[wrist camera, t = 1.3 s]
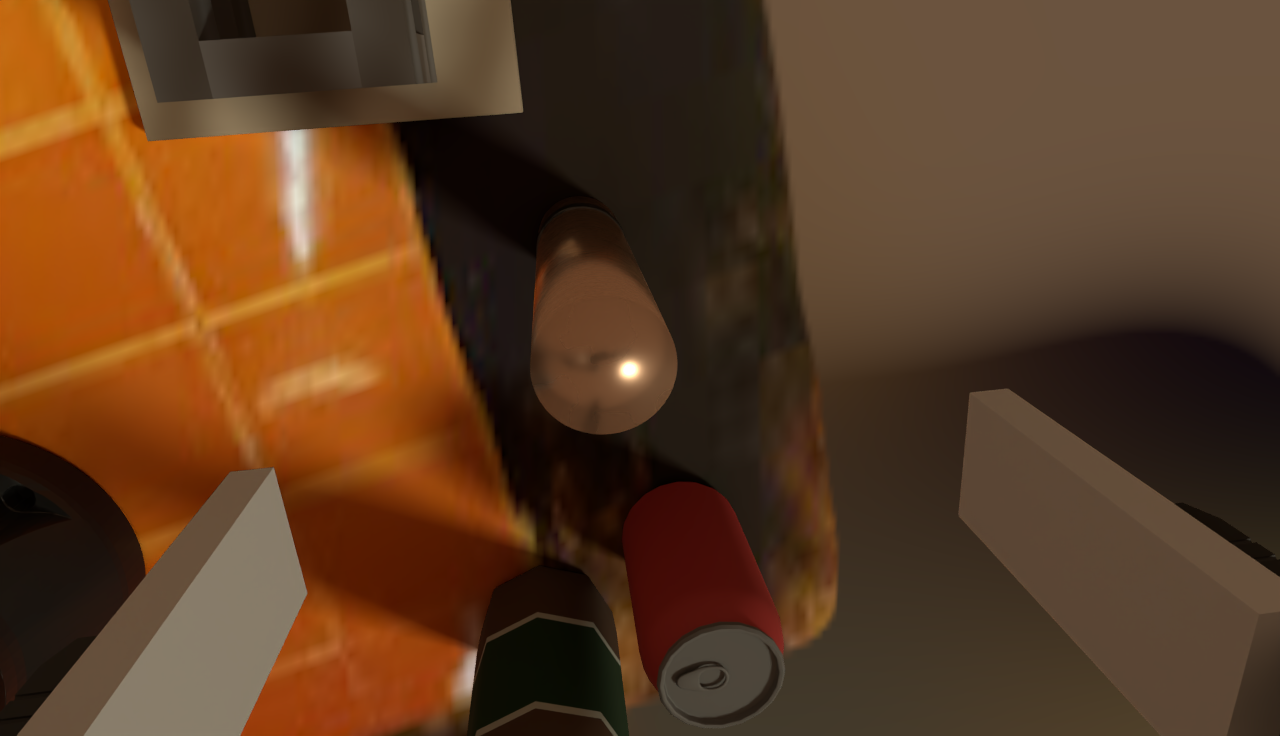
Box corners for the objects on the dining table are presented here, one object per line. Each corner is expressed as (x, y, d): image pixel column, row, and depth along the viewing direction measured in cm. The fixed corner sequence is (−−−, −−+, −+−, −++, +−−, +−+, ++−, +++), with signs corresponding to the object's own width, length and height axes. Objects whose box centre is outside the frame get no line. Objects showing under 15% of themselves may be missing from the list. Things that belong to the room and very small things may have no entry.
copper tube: (542, 282, 38) (537, 443, 22) (532, 198, 37) (519, 302, 20) (624, 274, 39) (682, 427, 22) (618, 191, 37) (675, 287, 21)
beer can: (617, 481, 43) (641, 625, 32) (735, 470, 43) (799, 607, 32) (623, 581, 45) (648, 748, 34) (735, 569, 46) (795, 729, 35)
